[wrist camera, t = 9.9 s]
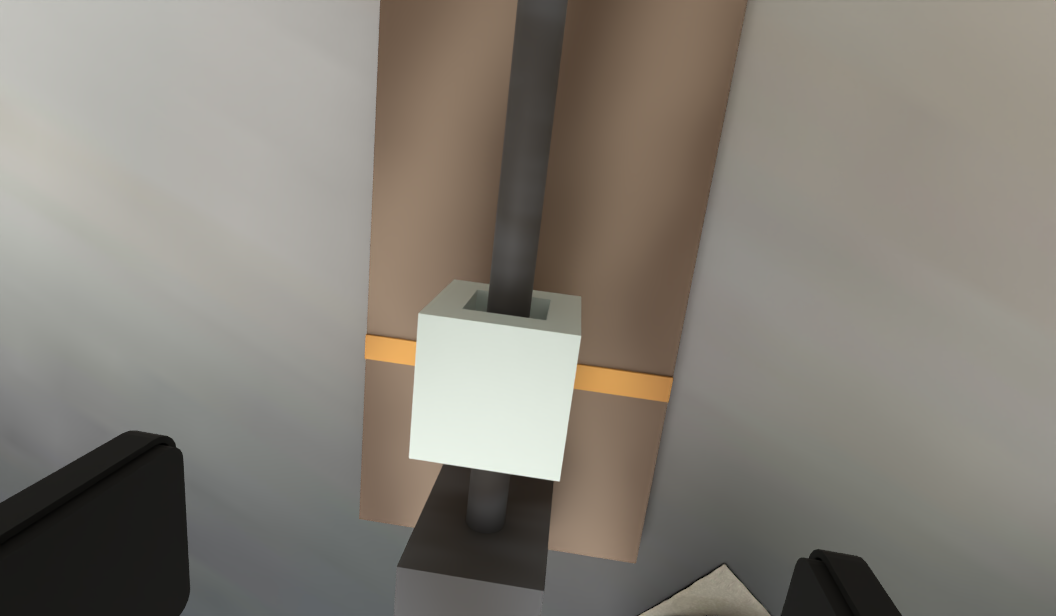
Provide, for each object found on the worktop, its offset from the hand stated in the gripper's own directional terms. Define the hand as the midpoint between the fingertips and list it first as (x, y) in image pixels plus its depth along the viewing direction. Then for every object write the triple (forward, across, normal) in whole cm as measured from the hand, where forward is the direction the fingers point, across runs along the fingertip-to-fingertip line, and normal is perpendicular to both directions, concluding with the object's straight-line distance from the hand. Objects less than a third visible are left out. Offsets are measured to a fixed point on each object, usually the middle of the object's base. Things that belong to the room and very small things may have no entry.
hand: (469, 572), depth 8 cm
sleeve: (+10, +1, 0) cm, 10 cm away
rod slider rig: (+15, +1, -4) cm, 15 cm away
